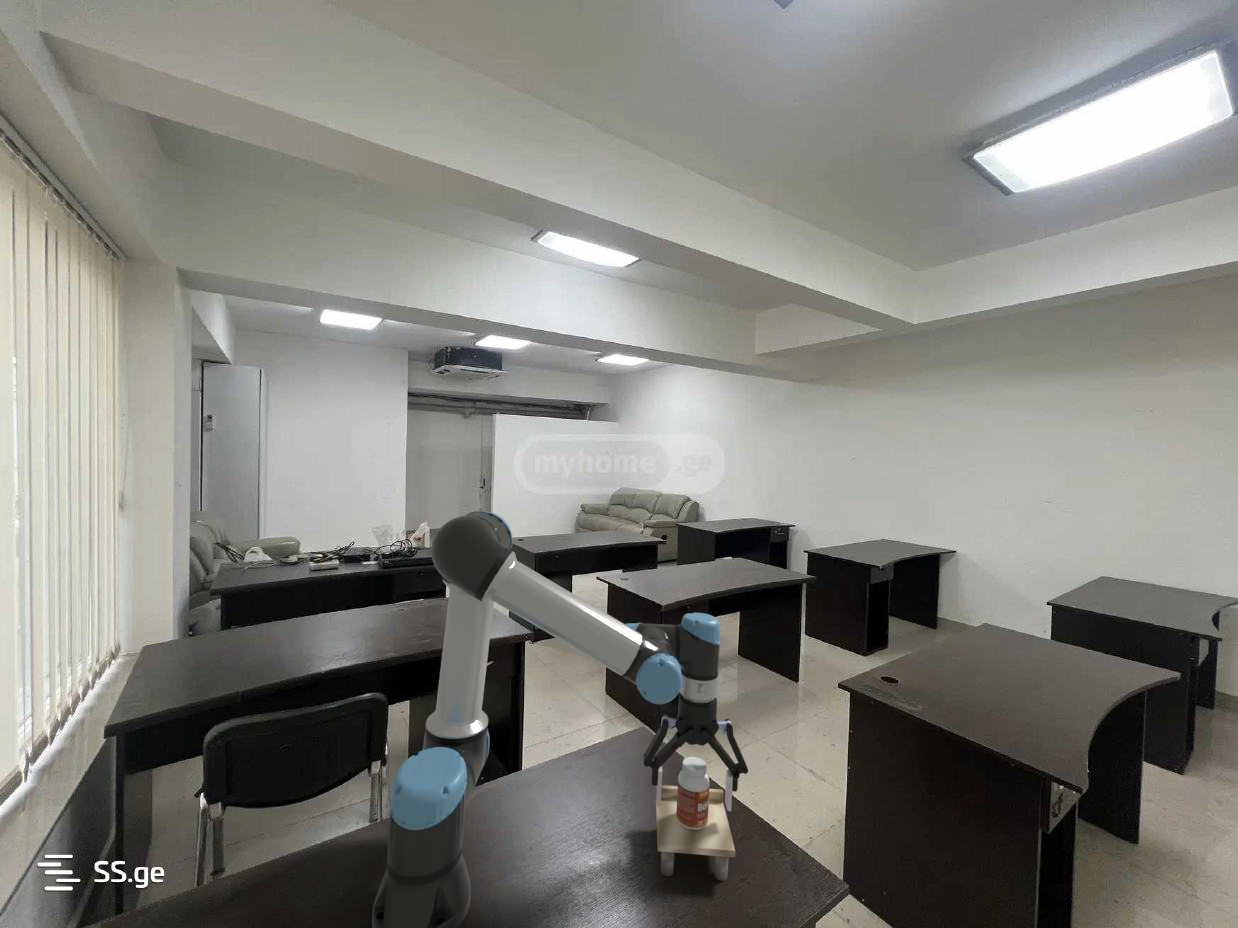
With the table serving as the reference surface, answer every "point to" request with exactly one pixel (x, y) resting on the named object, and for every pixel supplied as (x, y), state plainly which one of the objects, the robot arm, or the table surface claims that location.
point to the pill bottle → (693, 794)
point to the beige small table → (693, 833)
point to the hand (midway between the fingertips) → (693, 803)
